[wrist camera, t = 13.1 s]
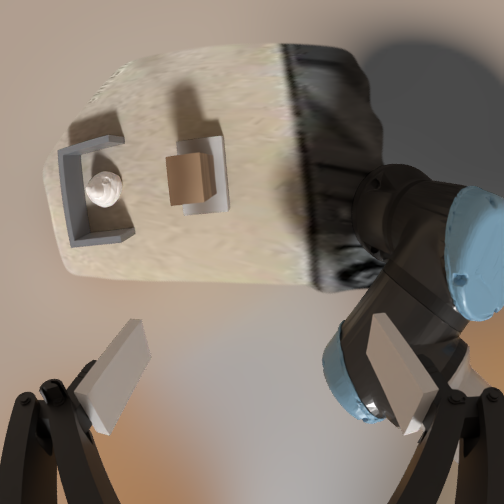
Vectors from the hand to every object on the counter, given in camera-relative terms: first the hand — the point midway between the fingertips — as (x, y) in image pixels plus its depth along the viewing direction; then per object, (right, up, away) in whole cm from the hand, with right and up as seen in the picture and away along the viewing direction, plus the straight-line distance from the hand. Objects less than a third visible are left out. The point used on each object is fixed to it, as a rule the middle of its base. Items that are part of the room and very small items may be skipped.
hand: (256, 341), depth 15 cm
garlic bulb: (-22, +15, +24) cm, 36 cm away
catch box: (-23, +14, +24) cm, 36 cm away
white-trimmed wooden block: (-7, +16, +23) cm, 29 cm away
